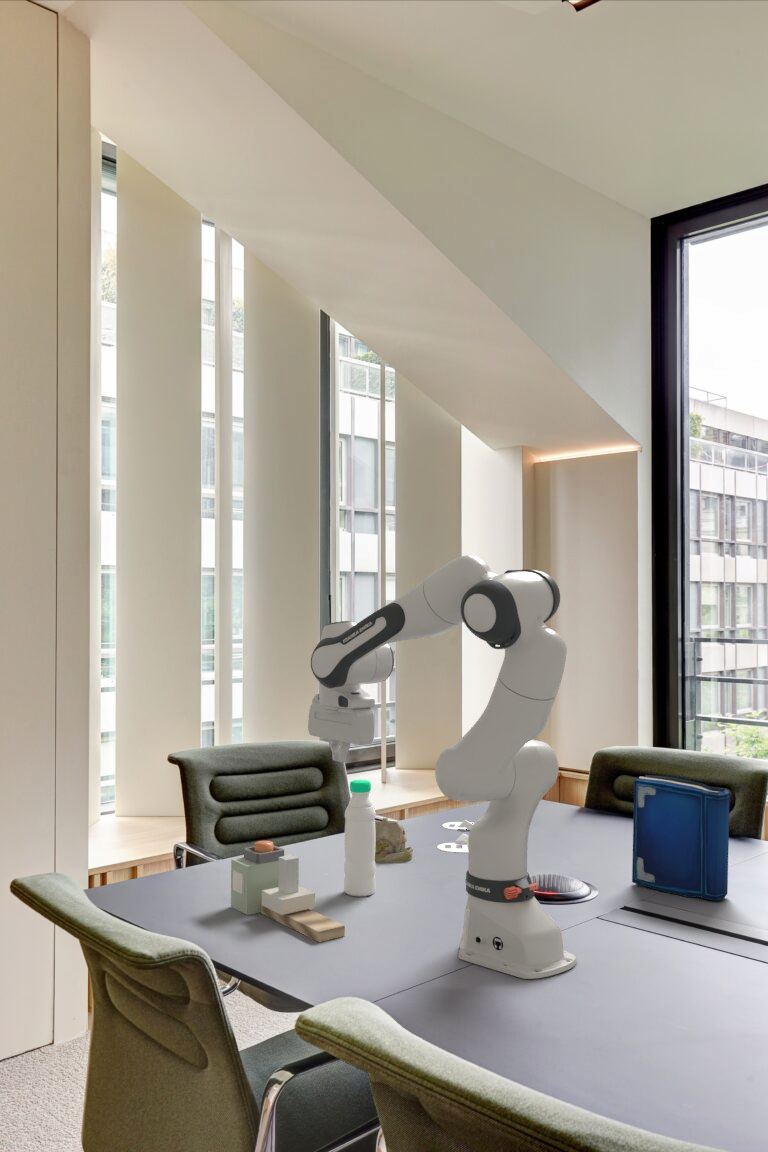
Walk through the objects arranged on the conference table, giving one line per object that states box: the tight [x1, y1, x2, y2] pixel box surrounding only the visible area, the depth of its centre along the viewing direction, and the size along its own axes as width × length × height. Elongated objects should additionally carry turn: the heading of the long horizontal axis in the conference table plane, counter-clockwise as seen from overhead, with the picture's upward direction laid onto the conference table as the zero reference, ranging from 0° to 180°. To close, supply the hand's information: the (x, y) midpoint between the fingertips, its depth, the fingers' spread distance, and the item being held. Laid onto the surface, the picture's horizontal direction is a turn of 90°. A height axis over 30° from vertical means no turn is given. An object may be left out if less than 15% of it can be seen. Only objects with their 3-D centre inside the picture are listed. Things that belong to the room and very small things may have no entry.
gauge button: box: [254, 840, 274, 853], centre depth 204 cm, size 4×4×3 cm
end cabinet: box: [230, 844, 290, 916], centre depth 203 cm, size 7×12×12 cm, turn 128°
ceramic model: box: [375, 817, 414, 863], centre depth 244 cm, size 14×11×10 cm
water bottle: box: [343, 779, 377, 898], centre depth 213 cm, size 7×7×25 cm
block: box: [260, 903, 346, 943], centre depth 191 cm, size 22×6×2 cm, turn 38°
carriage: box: [262, 854, 316, 915], centre depth 196 cm, size 8×8×10 cm
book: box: [631, 774, 731, 902], centre depth 215 cm, size 22×7×25 cm, turn 47°
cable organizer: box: [437, 819, 475, 854], centre depth 265 cm, size 35×24×3 cm
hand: (339, 761), depth 203 cm, fingers closed
